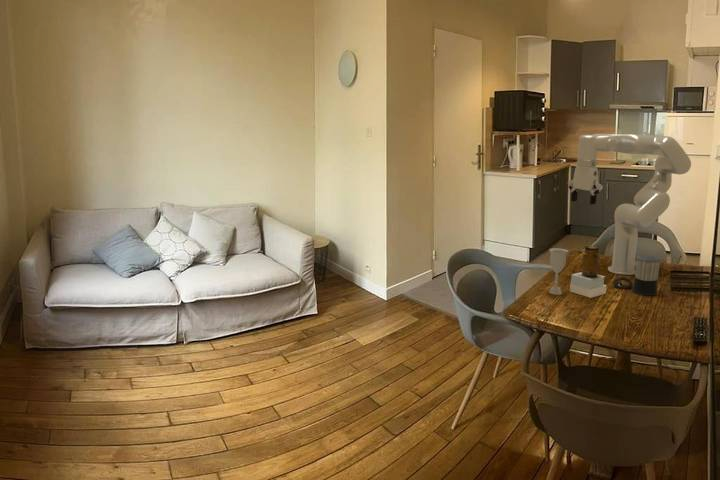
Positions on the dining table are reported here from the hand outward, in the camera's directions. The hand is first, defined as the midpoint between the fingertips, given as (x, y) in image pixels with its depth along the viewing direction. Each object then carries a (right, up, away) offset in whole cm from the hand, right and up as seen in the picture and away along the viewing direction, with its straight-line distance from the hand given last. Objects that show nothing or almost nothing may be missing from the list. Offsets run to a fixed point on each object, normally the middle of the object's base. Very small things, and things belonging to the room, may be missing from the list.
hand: (583, 202), depth 263 cm
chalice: (-18, -38, -17) cm, 46 cm away
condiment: (-4, -31, -20) cm, 37 cm away
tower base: (-5, -39, -17) cm, 42 cm away
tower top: (-5, -35, -18) cm, 40 cm away
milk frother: (+16, -38, -14) cm, 43 cm away
